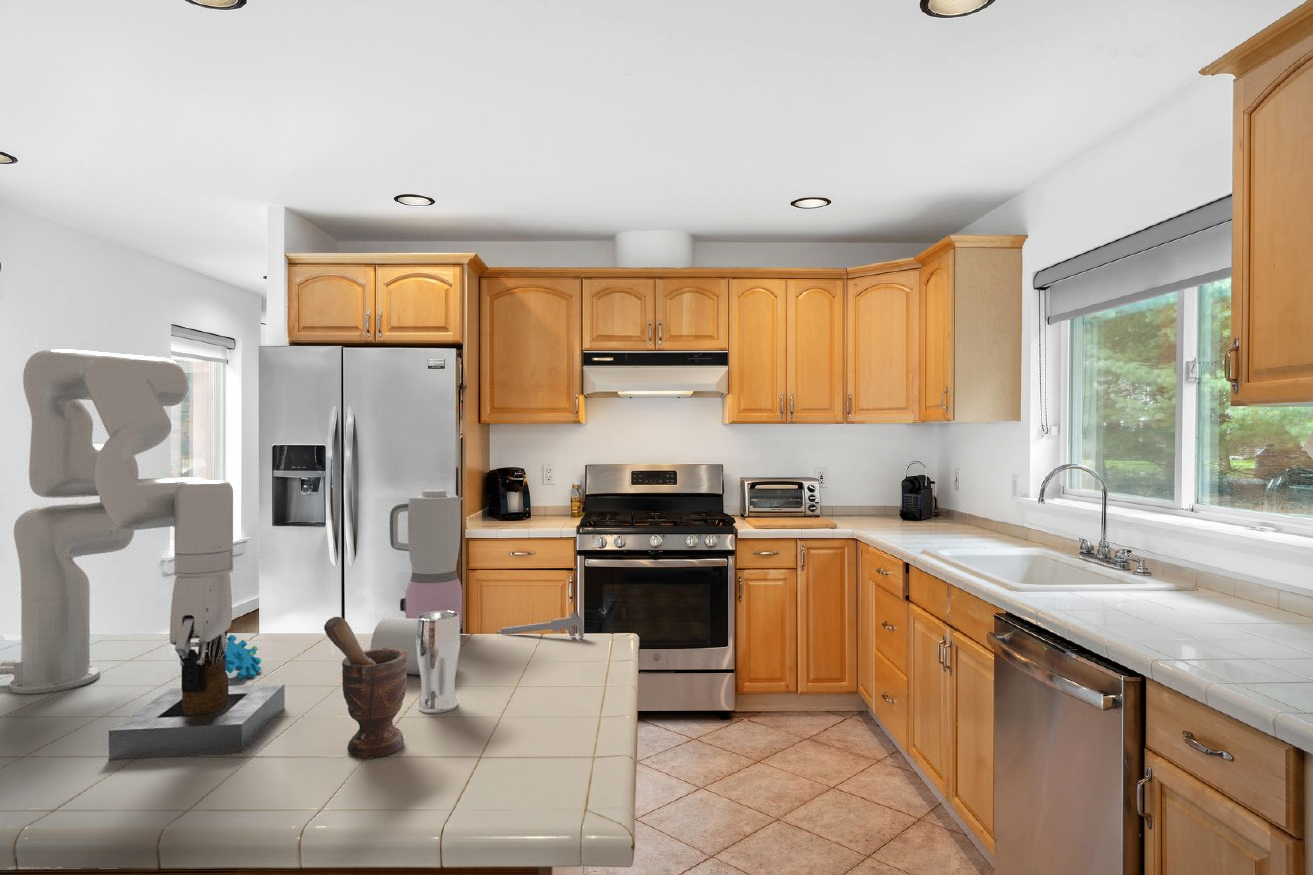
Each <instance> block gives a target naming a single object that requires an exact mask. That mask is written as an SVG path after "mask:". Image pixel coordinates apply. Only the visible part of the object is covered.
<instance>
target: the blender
mask: <svg viewBox="0 0 1313 875" xmlns="http://www.w3.org/2000/svg"><path fill="white" fill-rule="evenodd" d="M463 499H464V497H460V496H458V495H454V494H447V490H446V489H425V490H424V489H423V490H422V492H421V495H413V496H409V498H408V503H401V504H396V505H395V506H393V508H392V509H391V511H390V512H389V513H390V515H389V541H390V546H391V548H393V549H394V550H397V551H403V552H408V553H409V560H410V563H411V576H410V579H409V581H408V584H407V586H405V591H404V592H405V596H404V598H401V599H400V601H399V602H400V603H399V610H400V612H404V613H405V618H412V619H418V618H417V617H418V615H420V614H422V613H426V612H431V611H454V612H457V613H459V623H460V630H462V629H463V622H464V621H463V588H462V584H461V581H460V579H459V577H458V574H457V564H458V559H459V552H460V545H461V501H462V500H463ZM404 512H407V542H400V541H399V514H400V513H404Z"/></svg>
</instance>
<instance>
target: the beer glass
mask: <svg viewBox="0 0 1313 875" xmlns="http://www.w3.org/2000/svg"><path fill="white" fill-rule="evenodd" d="M417 618H418V619H417V631H416V653H417V660H418V666H419V672H420V675H419V677H420V678H419V679H420V685H421V686H420V687H421V689H420V697H419V702H418V711H420V712H422V713H426V714H441V713H447V712H449V711H452V710H454V709H456V707H457V706H458V698H457V695H456V694H457V693H456V675H457V668H458V664H459V663H458V662H459V657H460V651H461V650H460V649H461V629H460V623H459V613H457V612H454V611H431V612H426V613H422V614H420V615H418V617H417Z"/></svg>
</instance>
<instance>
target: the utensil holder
mask: <svg viewBox="0 0 1313 875" xmlns="http://www.w3.org/2000/svg"><path fill="white" fill-rule="evenodd" d="M224 635H225V634H224ZM222 636H223V635H222ZM225 636H226V635H225ZM227 638H228V637H227V636H226V643H227V642H228V640H227ZM217 639H218V638H217ZM215 640H216V638H215ZM211 642H212V641H211ZM211 642H210V644H211ZM221 642H222V640H221ZM216 643H217V642H216ZM214 644H215V643H214ZM210 647H211V645H210ZM210 647H209V649H210ZM220 647H221V646H220ZM222 647H223V645H222ZM215 648H216V647H215ZM225 648H227V645H226V647H225ZM213 650H214V648H213ZM219 652H220V651H219ZM221 652H222V650H221ZM224 652H226V650H225V651H224ZM224 654H225V653H224ZM214 655H215V652H214ZM220 655H221V654H220ZM218 656H219V654H218ZM223 656H224V655H223ZM209 657H210V652H209ZM222 658H223V657H222ZM204 663H207V689H206V690H205V691H204V692H185V693H184V692H182V708H183V712H184V714H186V715H189V716H203V715H209V714H213V713H216V712H219V711H221V710H223V709H225V708H226V707H227V705H228V686H229V675H228V672H227V671H224V670H225V668H226V664H225V660H223V659H220V657H219V658H209V659H204Z"/></svg>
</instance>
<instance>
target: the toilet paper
mask: <svg viewBox="0 0 1313 875" xmlns="http://www.w3.org/2000/svg"><path fill="white" fill-rule="evenodd" d="M416 631H417V619H412V618H406V617H384V618H382V619H381V620H380V621H379V622H378V623H377V625H376V626H375V628H374V631H373V633H372V636H371V641H370V648H369V650H372V649H383V648H388V649H393V648H394V649H400V650H403V651H405V652H407V653H408V654H407V671H406V673H407V675H419V676H420V672H419V666H418V660H417V653H416Z"/></svg>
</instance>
